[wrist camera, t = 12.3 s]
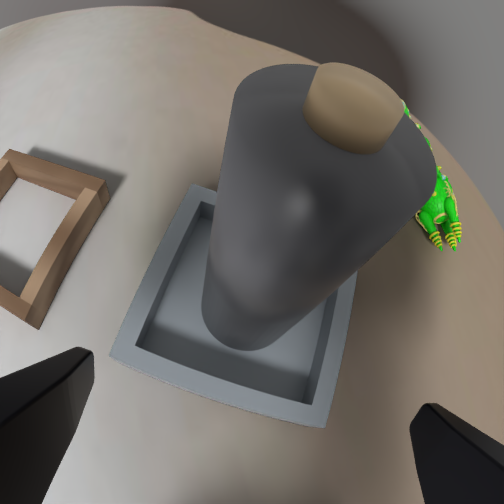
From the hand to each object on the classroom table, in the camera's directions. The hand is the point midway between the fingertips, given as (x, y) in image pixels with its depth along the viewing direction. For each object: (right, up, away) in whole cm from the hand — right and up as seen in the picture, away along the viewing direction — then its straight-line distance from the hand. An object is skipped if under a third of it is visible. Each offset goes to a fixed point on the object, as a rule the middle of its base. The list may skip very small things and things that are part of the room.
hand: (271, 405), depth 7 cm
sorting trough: (-1, 0, +11) cm, 11 cm away
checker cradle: (-16, +5, +11) cm, 20 cm away
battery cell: (-1, +1, +11) cm, 11 cm away
